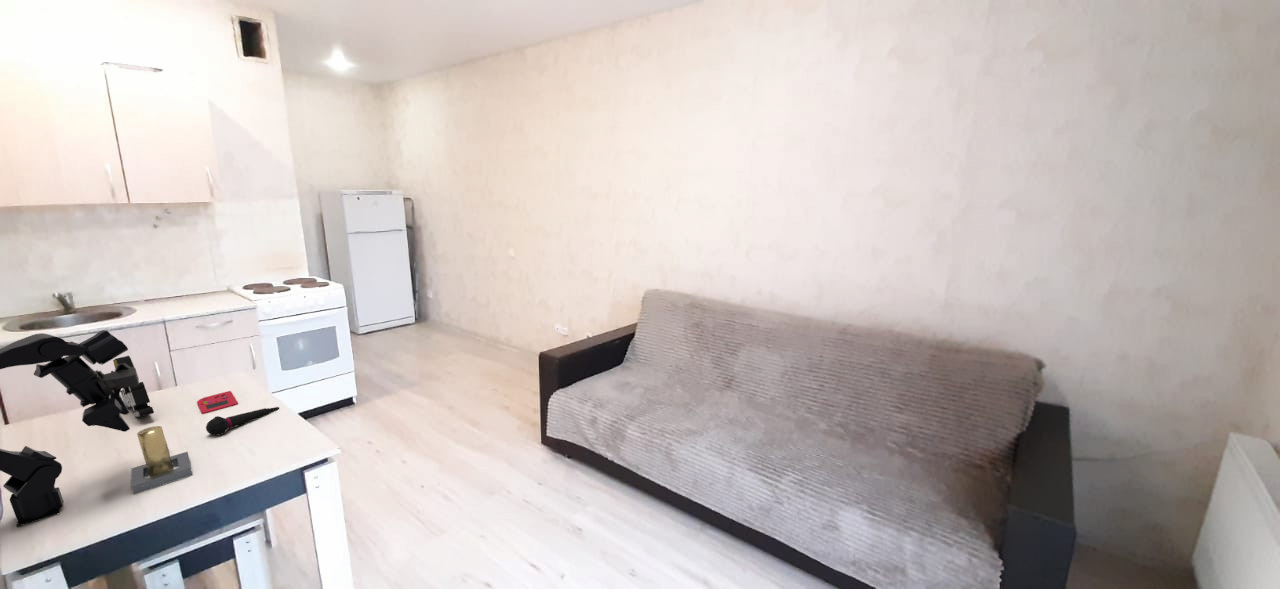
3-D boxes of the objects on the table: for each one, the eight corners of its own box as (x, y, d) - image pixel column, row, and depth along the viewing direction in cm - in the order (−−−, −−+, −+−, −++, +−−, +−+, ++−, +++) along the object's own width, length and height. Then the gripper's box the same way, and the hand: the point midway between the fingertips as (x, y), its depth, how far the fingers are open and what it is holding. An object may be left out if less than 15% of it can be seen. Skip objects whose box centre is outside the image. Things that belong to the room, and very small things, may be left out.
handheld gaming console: (230, 389, 180) (237, 402, 170) (231, 393, 180) (238, 406, 170) (195, 398, 173) (201, 412, 163) (196, 402, 174) (202, 416, 164)
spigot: (150, 483, 127) (137, 437, 124) (150, 475, 130) (137, 430, 127) (175, 475, 130) (162, 430, 127) (174, 468, 134) (161, 424, 130)
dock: (133, 494, 123) (131, 486, 122) (133, 475, 131) (131, 468, 130) (192, 475, 130) (190, 467, 130) (189, 458, 138) (187, 451, 137)
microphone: (276, 417, 168) (205, 439, 149) (271, 400, 167) (200, 420, 149) (285, 415, 165) (214, 437, 147) (281, 398, 165) (209, 418, 147)
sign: (129, 418, 169) (109, 362, 168) (142, 414, 172) (123, 359, 171) (140, 417, 156) (118, 355, 155) (154, 412, 158) (133, 352, 157)
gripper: (120, 373, 118) (166, 418, 126) (120, 345, 130) (162, 387, 139) (59, 402, 112) (112, 447, 121) (64, 369, 124) (112, 412, 133)
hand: (127, 421), depth 128 cm, fingers open, 9 cm apart
